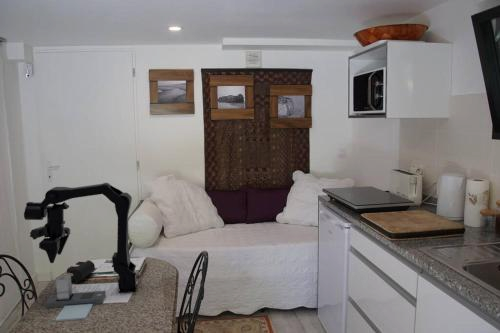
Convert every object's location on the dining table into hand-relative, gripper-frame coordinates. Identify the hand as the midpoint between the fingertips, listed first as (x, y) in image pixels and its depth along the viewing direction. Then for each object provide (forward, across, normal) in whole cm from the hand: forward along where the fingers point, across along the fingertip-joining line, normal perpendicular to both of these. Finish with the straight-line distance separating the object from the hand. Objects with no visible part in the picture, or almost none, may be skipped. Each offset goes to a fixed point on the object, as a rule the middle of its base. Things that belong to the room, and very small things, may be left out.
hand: (55, 258), depth 152 cm
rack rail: (+14, +7, +9) cm, 19 cm away
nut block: (+15, +7, +6) cm, 17 cm away
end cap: (+15, -15, +6) cm, 22 cm away
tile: (+14, +16, +11) cm, 25 cm away
